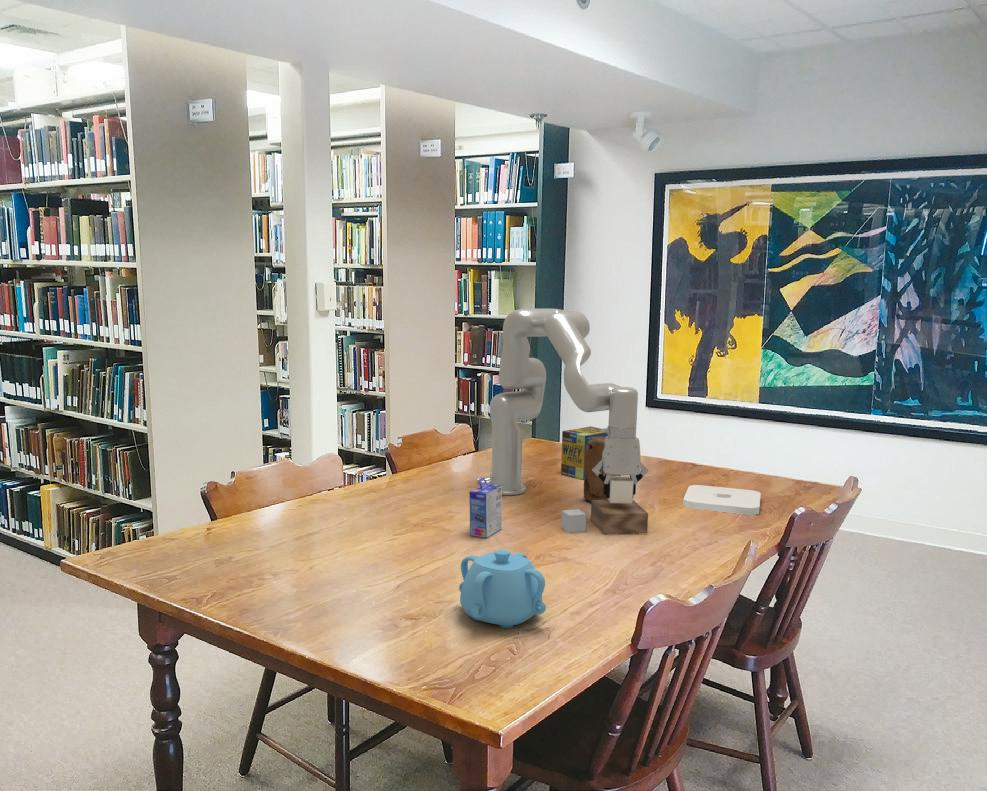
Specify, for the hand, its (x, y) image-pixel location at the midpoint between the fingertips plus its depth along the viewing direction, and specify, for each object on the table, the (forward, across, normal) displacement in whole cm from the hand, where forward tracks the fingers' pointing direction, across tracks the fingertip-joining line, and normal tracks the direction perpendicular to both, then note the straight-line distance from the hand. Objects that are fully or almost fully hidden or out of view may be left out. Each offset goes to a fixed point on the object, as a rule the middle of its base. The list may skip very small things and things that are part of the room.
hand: (619, 496), depth 226 cm
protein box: (+9, +2, +61) cm, 62 cm away
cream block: (+1, 0, 0) cm, 1 cm away
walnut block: (+9, 0, 0) cm, 9 cm away
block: (+9, 0, +25) cm, 26 cm away
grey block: (+9, -13, -3) cm, 16 cm away
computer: (+9, +38, +24) cm, 46 cm away
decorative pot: (+9, -37, -60) cm, 71 cm away
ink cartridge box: (+9, -37, -5) cm, 38 cm away
